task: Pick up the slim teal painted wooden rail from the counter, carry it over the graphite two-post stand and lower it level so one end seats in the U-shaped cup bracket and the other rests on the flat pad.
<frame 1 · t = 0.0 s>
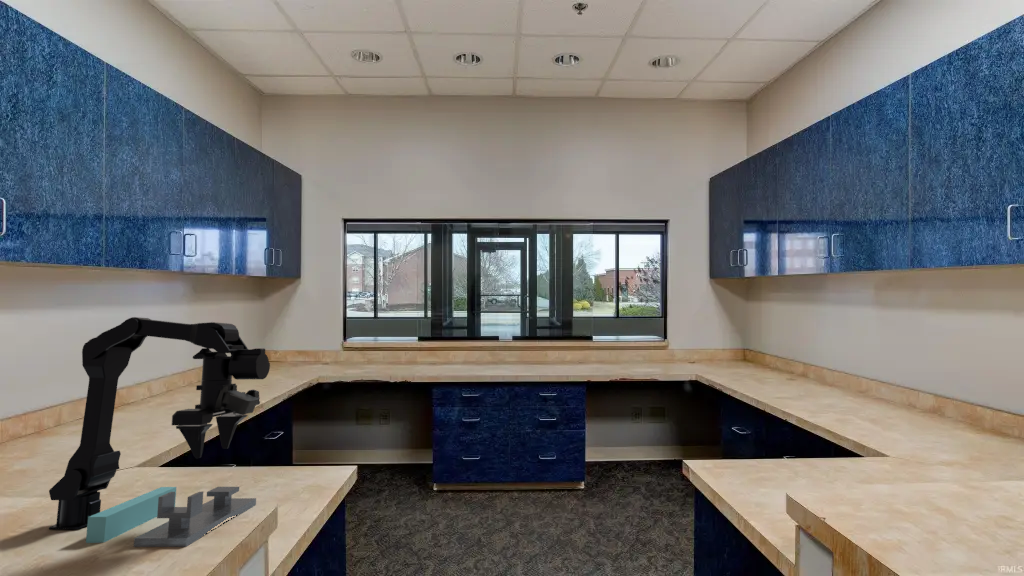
hand: (212, 453, 104), 14 cm above the counter, fingers open, 9 cm apart
teal rail: (134, 524, 103), on the counter
bracket stand: (201, 523, 103), on the counter
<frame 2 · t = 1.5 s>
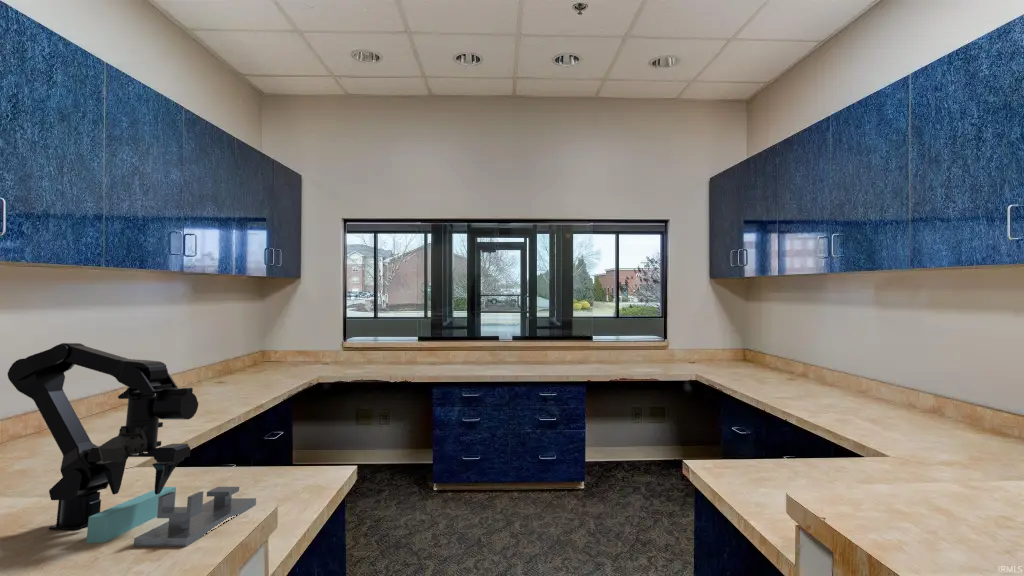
hand: (136, 493, 104), 6 cm above the counter, fingers open, 9 cm apart
nothing on the counter moved.
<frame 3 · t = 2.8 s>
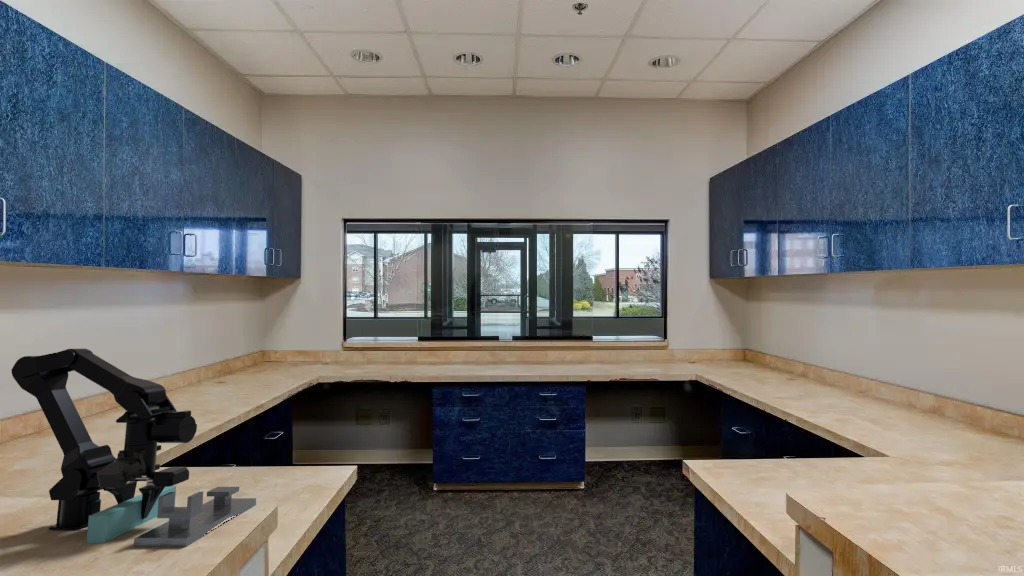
hand: (135, 518, 103), 1 cm above the counter, fingers closed on teal rail, 4 cm apart
teal rail: (134, 524, 103), on the counter, touching gripper
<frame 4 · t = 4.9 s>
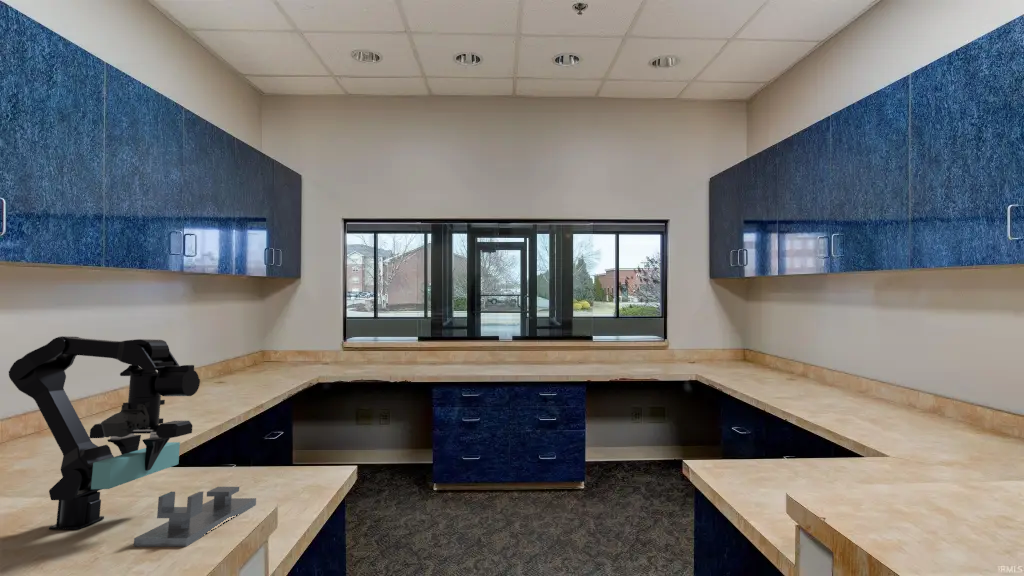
hand: (139, 470, 104), 11 cm above the counter, fingers closed on teal rail, 3 cm apart
teal rail: (138, 475, 104), point 10 cm above the counter, touching gripper
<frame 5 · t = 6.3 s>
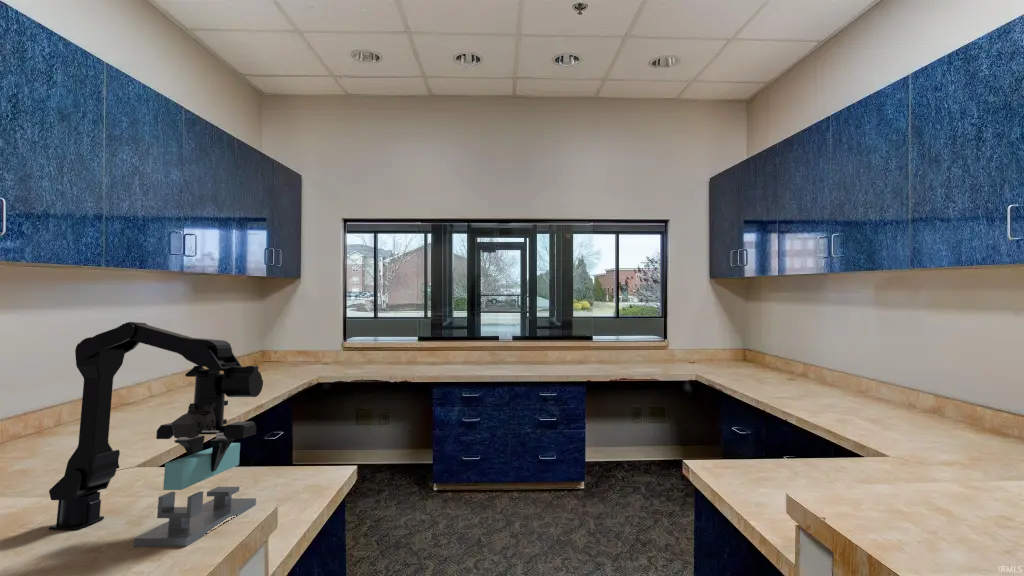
hand: (204, 471, 104), 11 cm above the counter, fingers closed on teal rail, 3 cm apart
teal rail: (204, 476, 104), point 10 cm above the counter, touching gripper
when the fingers open (7 cm above the counter, at t = 7.2 s): teal rail drops 1 cm, resting on bracket stand.
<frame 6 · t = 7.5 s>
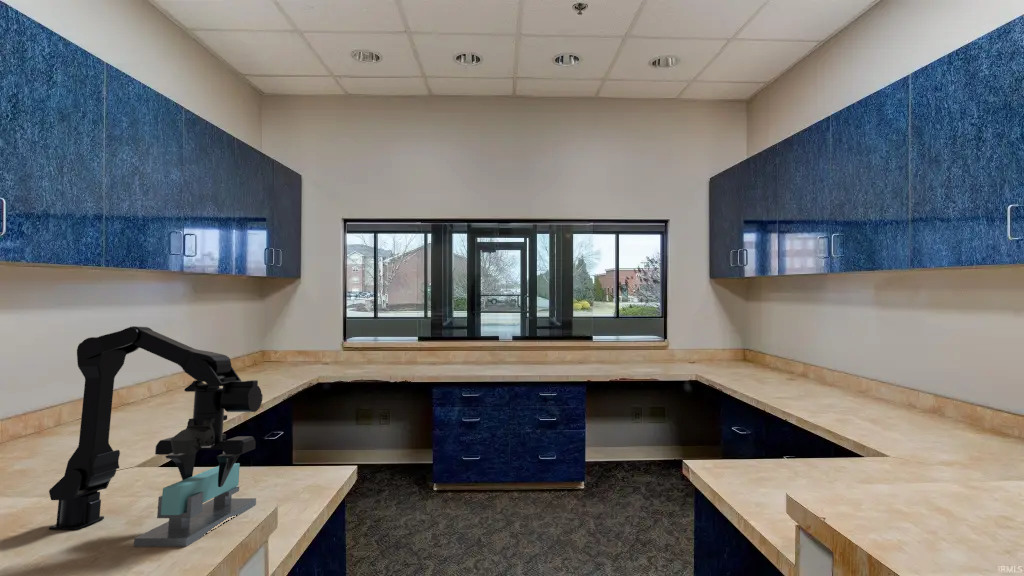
hand: (203, 486, 104), 7 cm above the counter, fingers open, 7 cm apart
teal rail: (203, 498, 103), point 5 cm above the counter, touching bracket stand
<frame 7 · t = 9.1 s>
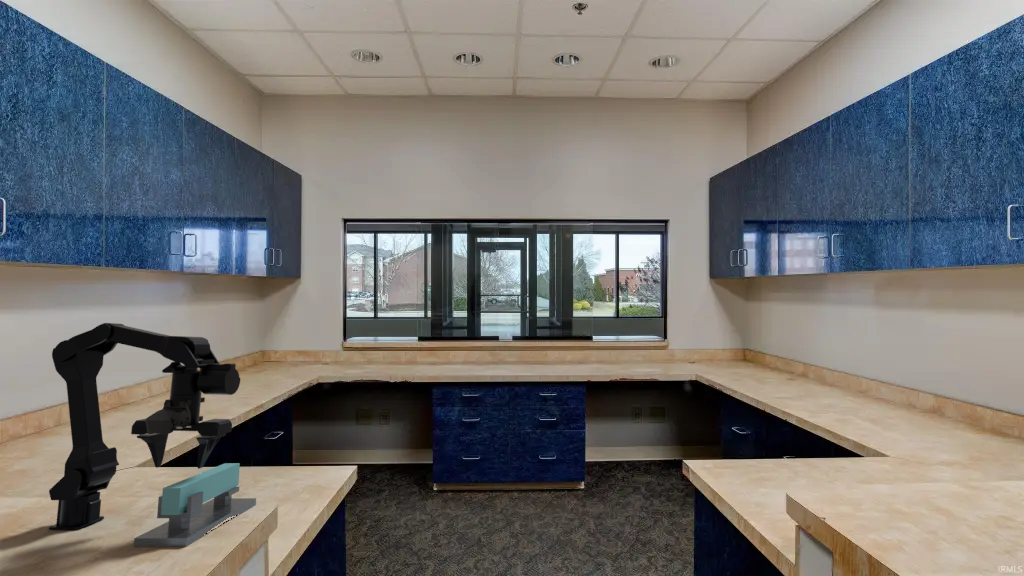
hand: (179, 467, 104), 11 cm above the counter, fingers open, 9 cm apart
nothing on the counter moved.
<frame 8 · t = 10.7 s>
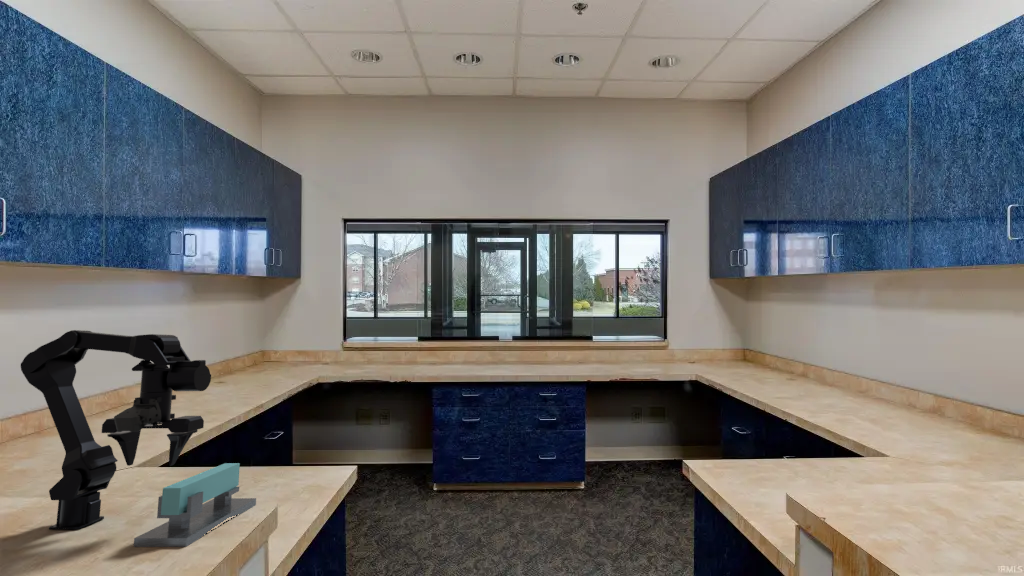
hand: (150, 465, 104), 12 cm above the counter, fingers open, 9 cm apart
nothing on the counter moved.
at the end: teal rail 0.1 cm off-centre on the bracket stand, point 5.0 cm above the bracket stand's base; teal rail tilted 0°; the gripper is holding nothing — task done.
